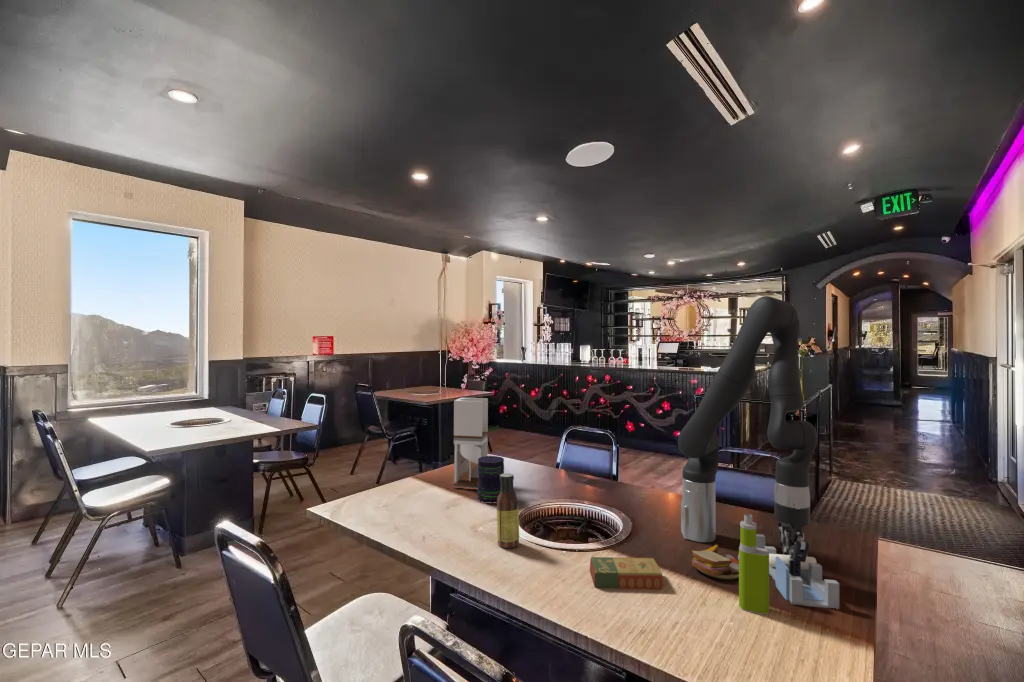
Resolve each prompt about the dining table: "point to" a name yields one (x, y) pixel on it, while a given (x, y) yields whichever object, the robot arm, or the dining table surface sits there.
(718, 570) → the toy sandwich meal
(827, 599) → the white peg rack
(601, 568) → the carton
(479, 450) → the white boxy tower
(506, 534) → the sauce bottle
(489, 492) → the storage jar
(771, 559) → the cream cylindrical rod
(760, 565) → the vape
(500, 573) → the dining table surface
